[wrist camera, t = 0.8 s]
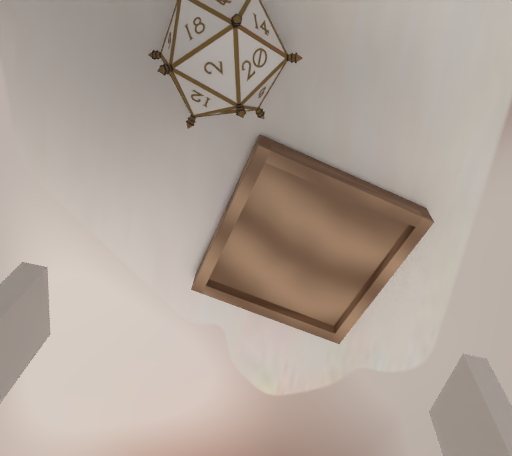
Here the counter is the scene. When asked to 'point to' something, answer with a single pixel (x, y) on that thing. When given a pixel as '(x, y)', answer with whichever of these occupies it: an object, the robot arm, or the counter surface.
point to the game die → (222, 56)
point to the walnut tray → (307, 242)
